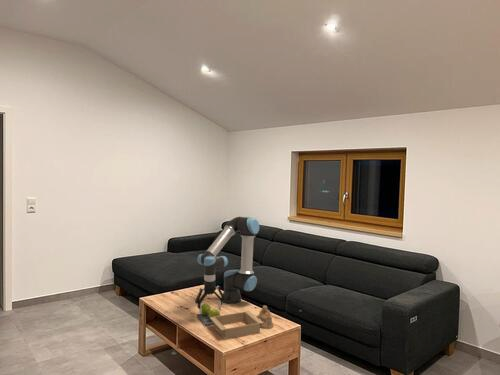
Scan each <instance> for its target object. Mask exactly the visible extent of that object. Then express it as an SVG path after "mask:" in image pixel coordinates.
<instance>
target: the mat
mask: <svg viewBox="0 0 500 375" xmlns="http://www.w3.org/2000/svg"><path fill="white" fill-rule="evenodd" d="M196 318H198V319H199V320H200V322H201V323H202V324H203V325H204V327H210V326H212V327H213V321H211V320H210V318H209V314H208V315H202V314H200V313H197V314H196Z"/></svg>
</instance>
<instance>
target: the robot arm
mask: <svg viewBox="0 0 500 375" xmlns="http://www.w3.org/2000/svg"><path fill="white" fill-rule="evenodd" d="M259 231H260V223H259V221H258V220H257V219H256V218H254V217H249V216H248V217H247V216H236V217H234V218H232V219H230V220H229V221H228V222H227V223H226V224H225V226H224V227H223V229H222V231H221V233H220V234H219V235H218V236H217V237H216V239H215V240H214V241H213V242H212V244H211V245H210V246H209V247H208V248H207V250H206V251H205V252H204V253H201V254H198V255H197V260H196V261H197V263H198V264H199V265H201V266H203V280H204V282H203V288H202V287H200V288H199V291H198V293H197V296H196V299H195V300H194V303H195V304H197V308H198V314H202V303H203V301H204V299H205V298H206V297H207V295H208V296H209V295H213V294H214V295H215V296H216V297H217V298H218V301H217V302H218V311H219V312H220V311H222V308H221V307H222V306H223V303H225V304H238V303H241V301H242V295H241V291H240V290H242V291H246V292H252V291H254V289H255V288H256V286H257V283H258V278H257V276H256V275H255V272H254V270H253V264H254V262H253V259H254V258H253V257H254V242H255V241H254V238H256V235H257V234H258V233H259ZM237 233H240V234H239V235H240V237H241V256H240V258H241V259H240V270H239V269H228V270H226V271H224V273H223V291H222V290H221V286H220V285H217V286H216V270H220V269H223V268H226V267H227V266H228V265H229V260H228V257H226V256H224V255H221V256H217V255H218V254H219V253H220V252H221V250H222V249H223V247H224V246H225V245H226V244H227V242H228V241H229V240H230V239H231V237H232V236H235V234H237ZM216 290H217V291H218V292H219V294H218V293H217V292H216Z"/></svg>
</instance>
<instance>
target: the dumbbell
mask: <svg viewBox="0 0 500 375" xmlns="http://www.w3.org/2000/svg"><path fill="white" fill-rule="evenodd" d="M201 306H202V315H208V314H209V318H210V317H216V316H221V312H220V310H219V309H216V308H215V309H212V307H211V305H210V304H209V303H203V304H201ZM210 320H211V319H210ZM211 321H212V320H211Z"/></svg>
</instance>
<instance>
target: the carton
mask: <svg viewBox="0 0 500 375" xmlns="http://www.w3.org/2000/svg"><path fill="white" fill-rule="evenodd" d="M210 319H211V320H212V321H213V325H212V327H213V328H215V330H217V332H218V333H219V334H220V335H221V336H222V337H223V338H224V339H225V340H230V339H234V338H240V337H245V336H251V335H256V334H260V333H261V328H260V324H261V323H263V322H262V321H261V320H260V319H258V318H257V315H255V314H253V313H252V312H251V311H248V310H246V311H241V312H235V313H227V314H222V315H220V316H216V317H210ZM241 322H246V323H247V324H245V325H240V326H239V325H238V326H233V327H229V328H226V327H225V326H224V325H229V324H231V325H232V324H235V323H236V324H237V323H241Z"/></svg>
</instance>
